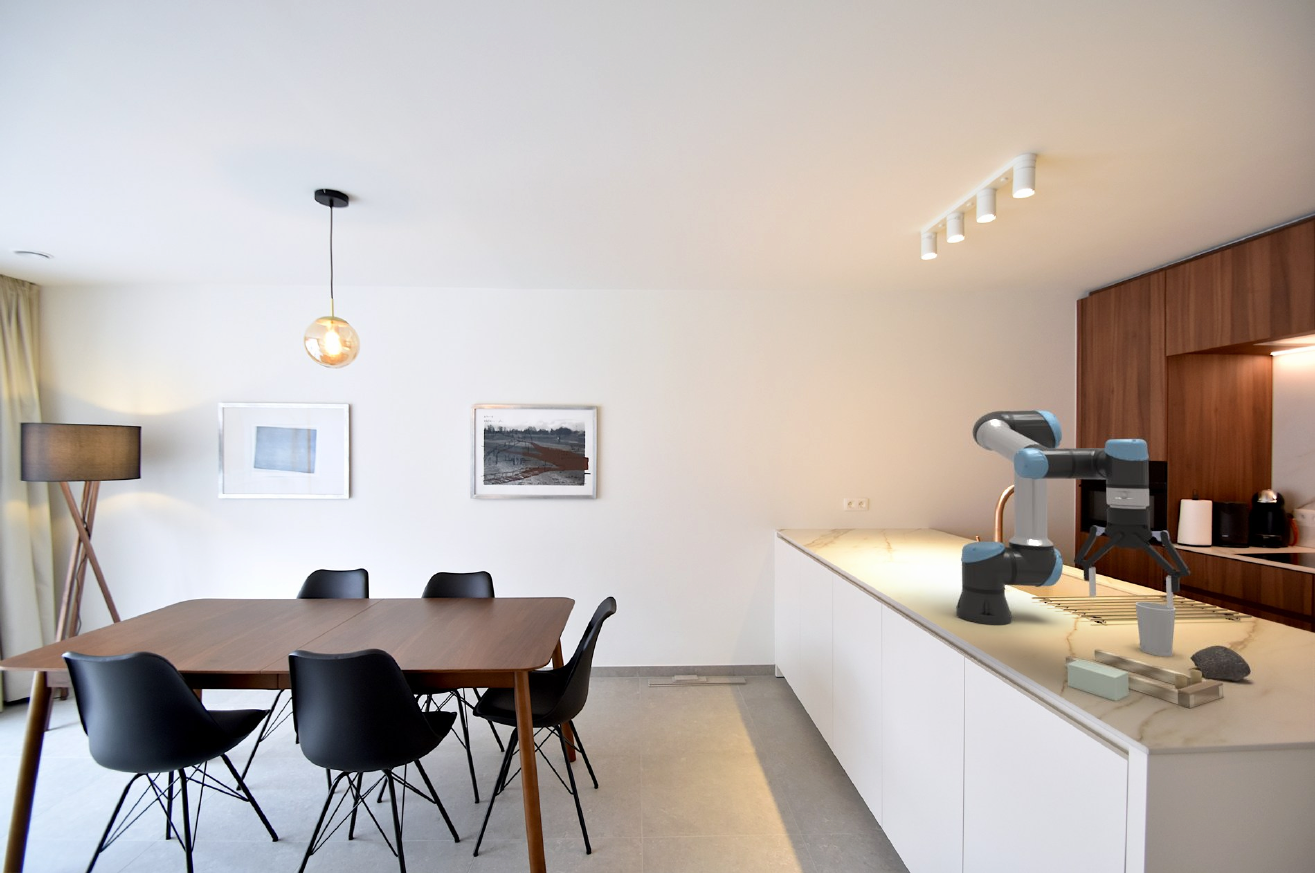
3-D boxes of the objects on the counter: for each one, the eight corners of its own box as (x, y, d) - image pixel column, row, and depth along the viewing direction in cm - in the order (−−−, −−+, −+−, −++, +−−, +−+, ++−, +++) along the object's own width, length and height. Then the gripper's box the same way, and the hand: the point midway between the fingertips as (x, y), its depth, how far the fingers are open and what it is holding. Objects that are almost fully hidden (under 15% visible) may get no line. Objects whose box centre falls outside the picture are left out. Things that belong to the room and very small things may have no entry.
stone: (1185, 685, 138) (1195, 666, 131) (1186, 653, 142) (1196, 634, 136) (1242, 702, 132) (1256, 683, 126) (1242, 668, 136) (1255, 649, 130)
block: (1067, 686, 128) (1067, 663, 128) (1080, 680, 131) (1080, 658, 131) (1115, 701, 121) (1115, 677, 121) (1128, 695, 124) (1128, 672, 124)
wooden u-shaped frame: (1065, 667, 139) (1065, 646, 139) (1098, 659, 144) (1098, 639, 144) (1190, 708, 117) (1189, 683, 117) (1223, 696, 122) (1222, 673, 123)
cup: (1184, 658, 145) (1183, 610, 145) (1148, 656, 146) (1147, 608, 147) (1163, 647, 153) (1162, 602, 153) (1129, 645, 154) (1128, 600, 154)
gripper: (1057, 504, 137) (1059, 593, 136) (1201, 511, 119) (1204, 615, 118) (1066, 502, 142) (1067, 589, 142) (1204, 509, 124) (1207, 609, 123)
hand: (1129, 601), depth 130 cm, fingers open, 13 cm apart
